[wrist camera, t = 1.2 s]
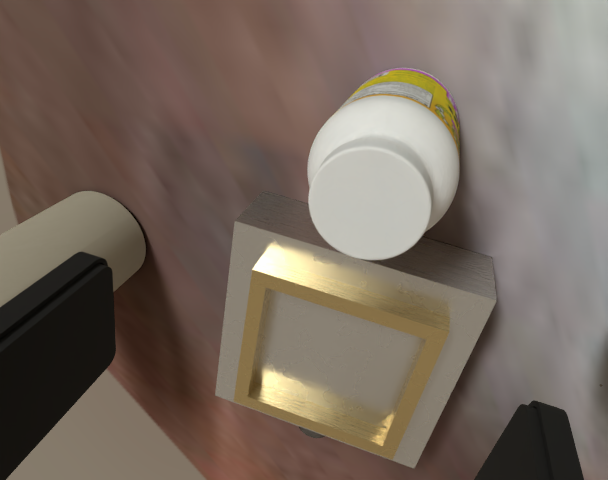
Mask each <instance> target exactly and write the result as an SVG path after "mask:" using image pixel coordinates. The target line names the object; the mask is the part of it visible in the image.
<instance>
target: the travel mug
mask: <svg viewBox="0 0 608 480" xmlns="http://www.w3.org/2000/svg"><path fill="white" fill-rule="evenodd" d="M78 252H86V253H89V254H92V255H95V256H98V257H101V258H104V259H106V261H107V263H108V267H110V268H111V269H112V272H113V292H114V291H115V290H117V289H118V288H119V287H120V286H121V285H122V284H123V283H124V282H125V281H126V280H128V279H129V278H130V277H131V276H132V275H133V274H134V273H135V272H136V271H138V270H139V269H140V267H141V266H142V264H143V262H144V259H145V254H146V245H145V240H144V236H143V233H142V231H141V229H140V227H139V225H138V223H137V222H136V220H135V219H134V217H133V216H132V215H131V214H130V212H129V211H128V210H127V209H126V208H125V207H124V206H122V205H121V204H120V203H119V202H117V201H116V200H114V199H113V198H111V197H109V196H107V195H104V194H102V193H98V192H93V191H82V192H78V193H75V194H73V195H72V196H70V197H68V198H66V199H64V200H63V201H61V202H59V203H57V204H55V205H53V206H52V207H50V208H48V209H46V210H44V211H43V212H41V213H39V214H37V215H35V216H34V217H32V218H30V219H28V220H26V221H25V222H23V223H21V224H19V225H17V226H16V227H14V228H12V229H10V230H8V231H7V232H5V233H3V234H1V235H0V307H1V306H3V305H4V304H5V303H7V302H8V301H10V300H11V299H12V298H14V297H15V296H17V295H18V294H19V293H21V292H22V291H24V290H25V289H26V288H28V287H29V286H31V285H32V284H33V283H35V282H36V281H38V280H39V279H41V278H42V277H43V276H45V275H46V274H48V273H49V272H50V271H52V270H53V269H55V268H56V267H57V266H59V265H60V264H62V263H63V262H64V261H66V260H67V259H69V258H70V257H71V256H73V255H74V254H76V253H78Z"/></svg>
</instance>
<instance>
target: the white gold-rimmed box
mask: <svg viewBox="0 0 608 480" xmlns="http://www.w3.org/2000/svg"><path fill="white" fill-rule="evenodd" d="M496 301H497V298H496V290H495V281H494V272H493V263H492V257H489V256H486V255H482V254H479V253H476V252H472V251H469V250H465V249H462V248H458V247H455V246H452V245H448V244H445V243H441V242H438V241H434V240H431V239H428V238H424V237H421V238H420V240H419V241H418V242H417V243H416V244H415V245H414V246H413V247H411V248H410V249H409V250H407V251H405V252H404V253H402V254H400V255H398V256H395V257H392V258H388V259H383V260H363V259H357V258H354V257H351V256H348V255H346V254H344V253H342V252H340V251H338V250H336V249H335V248H334V247H332V246H331V245H330V244H328V243H327V242H326V241H325V240H324V238H323V237H322V236H321V235H320V234H319V232H318V231H317V229H316V227H315V225H314V223H313V221H312V218H311V215H310V211H309V204H307V203H304V202H301V201H297V200H294V199H290V198H287V197H283V196H280V195H276V194H273V193H270V192H266V191H262V193H261V194H260V195H259V196H258V197H257V198H256V199H255V200H254V201H253V202H252V203H251V204H250V205H249V206H248V207H247V209H246V210H245V211H244V212H243V213H242V214H241V215H240V216H239V217H238V218H237V219H236V220H235V225H234V233H233V242H232V251H231V260H230V269H229V278H228V287H227V296H226V304H225V313H224V322H223V331H222V340H221V349H220V358H219V366H218V375H217V384H216V393H215V396H218V397H221V398H224V399H226V400H229V401H232V402H234V403H237V404H240V405H243V406H245V407H248V408H251V409H254V410H256V411H259V412H262V413H264V414H267V415H270V416H273V417H275V418H278V419H281V420H283V421H286V422H289V423H292V424H294V425H297V426H299V428H300V430H301V431H302V432H303V433H305V434H306V435H308V436H310V437H313V438H322V437H325V436H327V437H330V438H332V439H335V440H338V441H340V442H343V443H346V444H349V445H351V446H354V447H357V448H359V449H362V450H365V451H368V452H370V453H373V454H376V455H378V456H381V457H384V458H387V459H389V460H392V461H395V462H397V463H400V464H403V465H406V466H408V467H411V468H415V466H416V464H417V462H418V460H419V458H420V456H421V454H422V452H423V450H424V448H425V446H426V444H427V442H428V440H429V437H430V435H431V433H432V431H433V429H434V427H435V425H436V423H437V421H438V419H439V417H440V415H441V413H442V411H443V409H444V407H445V405H446V403H447V401H448V399H449V397H450V395H451V393H452V391H453V389H454V387H455V385H456V383H457V381H458V379H459V377H460V374H461V372H462V370H463V368H464V366H465V364H466V362H467V360H468V358H469V356H470V354H471V352H472V350H473V348H474V346H475V344H476V342H477V340H478V338H479V336H480V334H481V332H482V330H483V328H484V326H485V324H486V322H487V320H488V318H489V316H490V314H491V312H492V309H493V307H494V305H495V303H496Z"/></svg>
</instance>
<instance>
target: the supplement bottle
mask: <svg viewBox="0 0 608 480" xmlns="http://www.w3.org/2000/svg"><path fill="white" fill-rule="evenodd" d="M459 136H460V134H459V117H458V111H457V107H456V104H455V101H454V99H453V97H452V95H451V94H450V92H449V90H448V89H447V88H446V87H445V86H444V84H442V83H441V82H440V81H439V80H438V79H437V78H435V77H434V76H432V75H430V74H428V73H426V72H424V71H421V70H417V69H412V68H395V69H390V70H386V71H383V72H381V73H379V74H377V75H375V76H373V77H372V78H370V79H369V80H367V81H366V82H365V83H363V84H362V85H361V86H360V87H359V88H358V89H357V90H356V91H355V92H354V94H353V95H352V96H351V97H350V98H349V99H348V100H347V101H346V102H345V103H344V104H343V105H342V106H341V107H340V108H339V109H338V110H337V111H336V112H335V113H334V114H333V115H332V116H331V117H330V118H329V120H328V121H327V122H326V123H325V124H324V125H323V127H322V128H321V129H320V131H319V132H318V134H317V136H316V138H315V140H314V142H313V145H312V147H311V150H310V154H309V159H308V182H309V187H310V191H309V211H310V215H311V218H312V221H313V223H314V225H315V227H316V229H317V231H318V232H319V234H320V235H321V236H322V237H323V238H324V240H325V241H326V242H327V243H328V244H330V245H331V246H332V247H334V248H335V249H336V250H338V251H340V252H342V253H344V254H346V255H348V256H351V257H354V258H357V259H363V260H383V259H388V258H392V257H395V256H398V255H400V254H402V253H404V252H405V251H407V250H409V249H410V248H411V247H413V246H414V245H415V244H416V243H417V242H418V241H419V240H420V238H421V237H422V236H423V234H424V232H426V231H427V230H429V229H430V228H431V227H433V226H434V225H435V224H436V223H437V222H438V221H439V220H440V219H441V218H442V217H443V216H444V214H445V213H446V211H447V210H448V208H449V207H450V205H451V203H452V201H453V199H454V196H455V194H456V191H457V187H458V182H459V171H460V162H459V149H460V148H459V146H460V145H459Z"/></svg>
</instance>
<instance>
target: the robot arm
mask: <svg viewBox="0 0 608 480" xmlns="http://www.w3.org/2000/svg"><path fill="white" fill-rule="evenodd" d="M115 351H116V345H115V320H114V296H113V272H112V269H111V268H110V267H108V263H107V261H106V259H104V258H101V257H98V256H95V255H92V254H89V253H86V252H78V253H76V254H74V255H73V256H71V257H70V258H69V259H67V260H66V261H64V262H63V263H62V264H60V265H59V266H57V267H56V268H55V269H53V270H52V271H50V272H49V273H48V274H46V275H45V276H43V277H42V278H41V279H39V280H38V281H36V282H35V283H33V284H32V285H31V286H29V287H28V288H26V289H25V290H24V291H22V292H21V293H19V294H18V295H17V296H15V297H14V298H12V299H11V300H10V301H8V302H7V303H5V304H4V305H3V306H1V307H0V480H6V479H7V477H8V476H9V475H10V474H11V473H12V472H13V471H14V470H15V469H16V468H17V467H18V465H19V464H20V463H21V462H22V461H23V460H24V459H25V458H26V457H27V456H28V454H29V453H30V452H31V451H32V450H33V449H34V448H35V447H36V446H37V445H38V443H39V442H40V441H41V440H42V439H43V438H44V437H45V436H46V435H47V433H48V432H49V431H50V430H51V429H52V428H53V427H54V426H55V424H57V422H58V421H59V420H60V419H61V418H62V417H63V416H64V415H65V414H66V413H67V411H68V410H69V409H70V408H71V407H72V406H73V405H74V404H75V403H76V402H77V400H78V399H79V398H80V397H81V396H82V395H83V394H84V393H85V392H86V390H87V389H88V388H89V387H90V386H91V385H92V384H93V383H94V382H95V381H96V379H97V378H98V377H99V376H100V375H101V374H102V373H103V372H104V371H105V370H106V368H107V367H108V366H109V365H110V364H111V362H112V360H113V358H114V356H115ZM474 480H584V478H583V474H582V470H581V466H580V462H579V459H578V455H577V451H576V447H575V443H574V439H573V435H572V431H571V427H570V423H569V420H568V416H567V414H566V412H565V411H564V410H562V409H559V408H556V407H553V406H550V405H547V404H544V403H541V402H538V401H532V402H531V403H530V404H529V405H528V406H527V405H524V404H521V405H520V406H519V407H518V409H517V410H516V412H515V414H514V415H513V417H512V419H511V420H510V422H509V423H508V425H507V427H506V428H505V430H504V432H503V433H502V435H501V437H500V438H499V440H498V441H497V443H496V445H495V446H494V448H493V450H492V451H491V453H490V455H489V456H488V458H487V460H486V461H485V463H484V464H483V466H482V468H481V469H480V471H479V473H478V474H477V476H476V478H475V479H474Z"/></svg>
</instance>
